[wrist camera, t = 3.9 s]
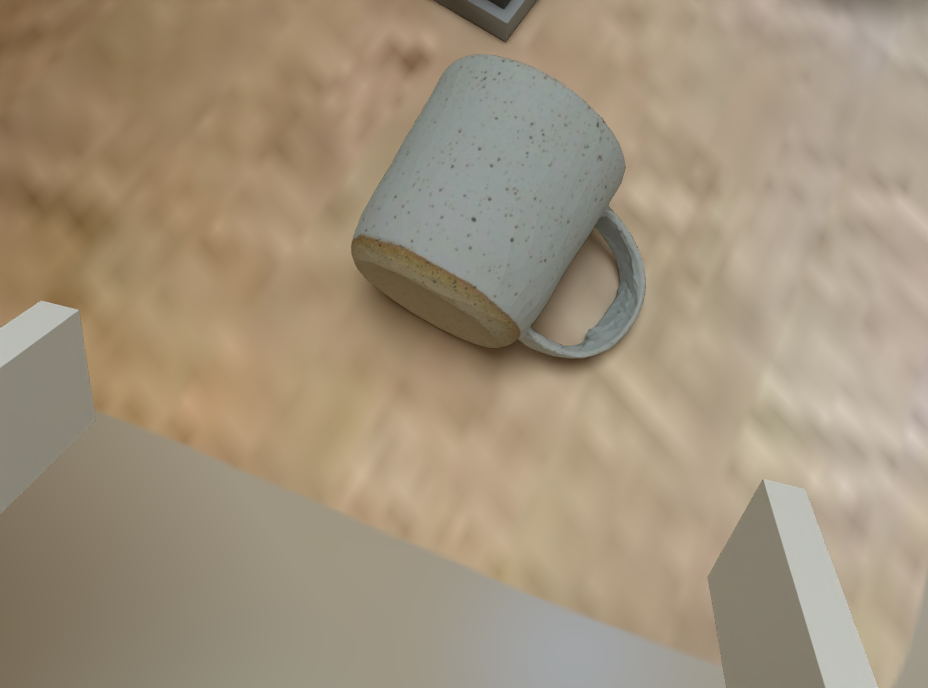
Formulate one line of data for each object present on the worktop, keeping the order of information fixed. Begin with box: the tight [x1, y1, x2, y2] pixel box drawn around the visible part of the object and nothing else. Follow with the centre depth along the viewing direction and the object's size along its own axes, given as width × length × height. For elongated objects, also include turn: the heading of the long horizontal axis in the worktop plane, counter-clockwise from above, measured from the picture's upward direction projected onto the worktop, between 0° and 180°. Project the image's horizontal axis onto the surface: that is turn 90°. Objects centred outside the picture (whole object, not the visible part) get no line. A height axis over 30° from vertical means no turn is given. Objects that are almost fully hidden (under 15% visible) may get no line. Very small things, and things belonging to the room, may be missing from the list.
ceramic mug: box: [351, 54, 646, 359], centre depth 25 cm, size 11×8×8 cm
